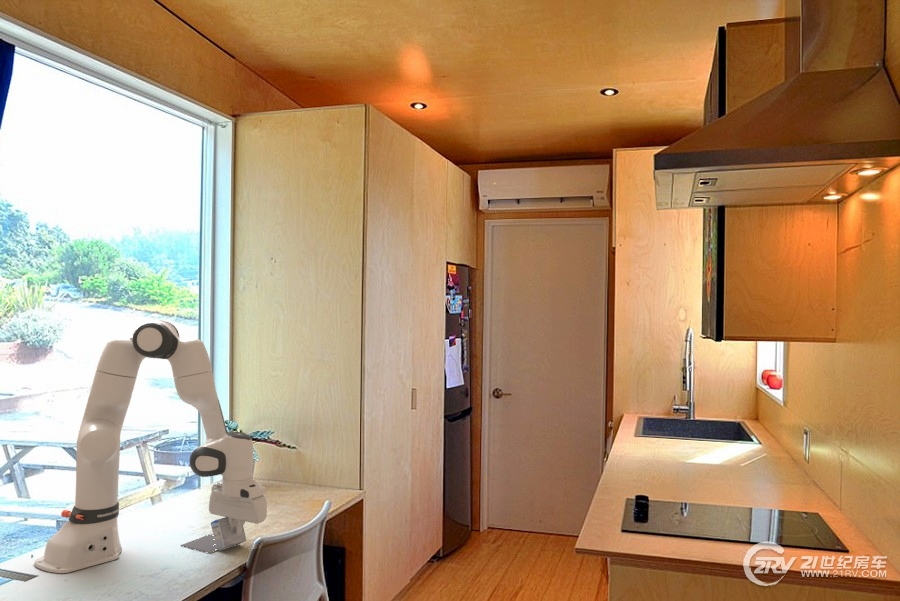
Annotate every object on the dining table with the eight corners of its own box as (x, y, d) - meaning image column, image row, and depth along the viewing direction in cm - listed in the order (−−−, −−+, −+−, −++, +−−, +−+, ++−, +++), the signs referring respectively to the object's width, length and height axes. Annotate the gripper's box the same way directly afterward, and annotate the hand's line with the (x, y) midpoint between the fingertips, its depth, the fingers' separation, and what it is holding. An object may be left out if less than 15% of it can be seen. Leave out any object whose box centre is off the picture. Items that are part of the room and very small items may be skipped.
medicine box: (239, 544, 212) (232, 516, 215) (247, 540, 210) (240, 512, 212) (216, 551, 206) (209, 522, 208) (224, 547, 204) (217, 518, 206)
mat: (209, 553, 204) (209, 552, 204) (180, 546, 209) (180, 545, 209) (239, 541, 214) (239, 540, 214) (210, 534, 220) (210, 533, 220)
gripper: (204, 484, 209) (203, 530, 209) (255, 494, 200) (254, 542, 200) (219, 479, 215) (218, 524, 215) (270, 489, 205) (269, 535, 205)
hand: (236, 532), depth 207 cm, fingers closed
